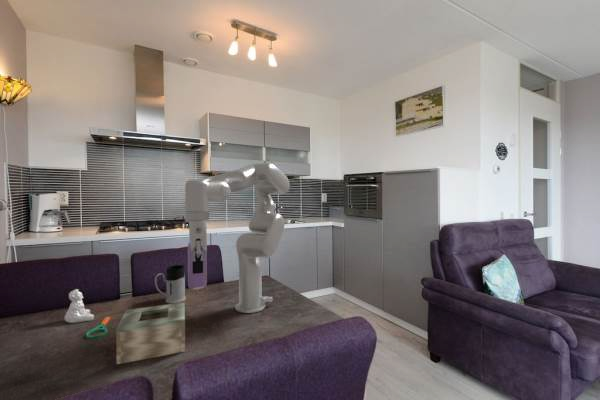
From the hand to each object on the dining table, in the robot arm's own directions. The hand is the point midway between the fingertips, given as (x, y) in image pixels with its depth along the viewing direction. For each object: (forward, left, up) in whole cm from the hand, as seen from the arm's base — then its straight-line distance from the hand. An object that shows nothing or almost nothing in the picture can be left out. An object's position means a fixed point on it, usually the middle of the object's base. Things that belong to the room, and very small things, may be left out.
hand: (197, 270), depth 97 cm
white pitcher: (+10, -40, -23) cm, 47 cm away
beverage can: (0, 0, -6) cm, 6 cm away
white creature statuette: (+42, -32, -23) cm, 58 cm away
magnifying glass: (+32, -20, -23) cm, 44 cm away
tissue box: (+13, 0, -23) cm, 26 cm away
